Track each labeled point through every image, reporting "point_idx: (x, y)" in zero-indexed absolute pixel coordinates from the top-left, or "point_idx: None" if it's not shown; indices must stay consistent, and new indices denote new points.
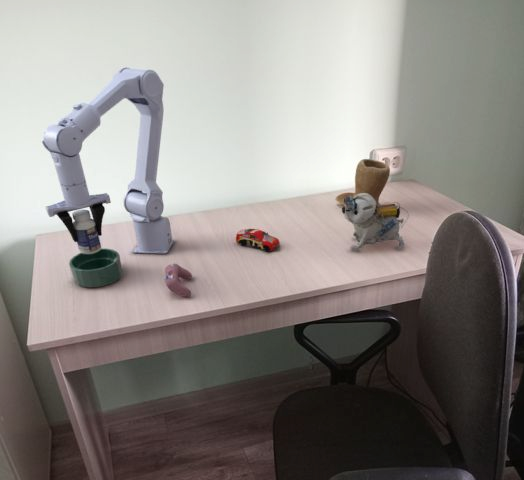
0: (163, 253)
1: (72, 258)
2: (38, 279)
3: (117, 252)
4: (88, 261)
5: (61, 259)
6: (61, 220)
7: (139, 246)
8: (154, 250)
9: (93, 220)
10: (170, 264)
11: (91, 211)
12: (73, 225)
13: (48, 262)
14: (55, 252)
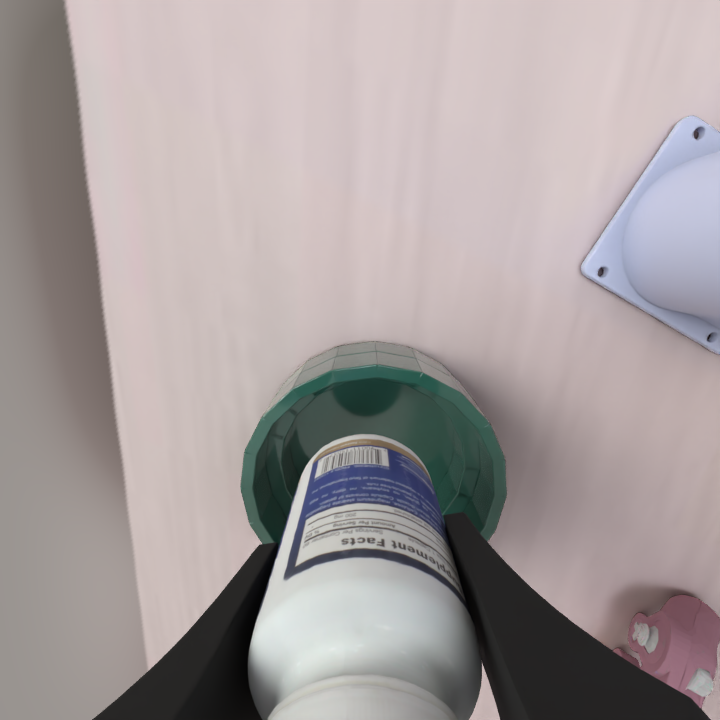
0: (710, 349)
1: (257, 436)
2: (109, 352)
3: (504, 467)
4: (340, 384)
5: (200, 167)
6: (112, 712)
7: (637, 265)
8: (687, 313)
9: (474, 700)
10: (690, 686)
11: (515, 709)
12: (258, 710)
13: (133, 175)
14: (158, 37)
